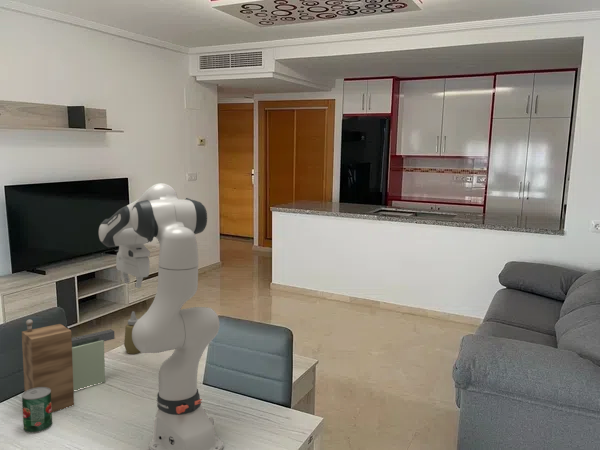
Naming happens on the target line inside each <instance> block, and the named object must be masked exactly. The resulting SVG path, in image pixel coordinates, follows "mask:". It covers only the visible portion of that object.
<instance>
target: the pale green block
mask: <svg viewBox="0 0 600 450" xmlns="http://www.w3.org/2000/svg"><path fill="white" fill-rule="evenodd" d="M72 363H73V391H74V390H78V389H80V388H84V387H87V386H90V385H94V384H98V383H101V382H105V383H106V368H105V341H104V340H101V341H97V342H93V343H89V344H85V345H81V346H77V347H72Z"/></svg>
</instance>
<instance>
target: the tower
mask: <svg viewBox="0 0 600 450" xmlns="http://www.w3.org/2000/svg"><path fill="white" fill-rule="evenodd" d="M33 322H34V321H33V320H32V319H27V320H26V321H25V325H26V330H23V331H21V346H22V347H21V348H22V349H21V350H22V366H23V388H24V389H23V390H24V392H25V391H27V390H29V389H32V388H37V387H47V388H50V389H51V407H52V413H55V412H58V411H60V409H61V410H64V408H65V409H67V408H66V407H68V408H70V407H69V406H71V407H73V406H72V405H74V406H75V398H74V397H75V395H74V393H75V392H74V391H73V363H72V338H73V336H72V330H71V329H70V328H68V327H66V326H64V325H63V324H61V323H58V324H52V325H48V326H42V327H38V328H33V324H34V323H33Z"/></svg>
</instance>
